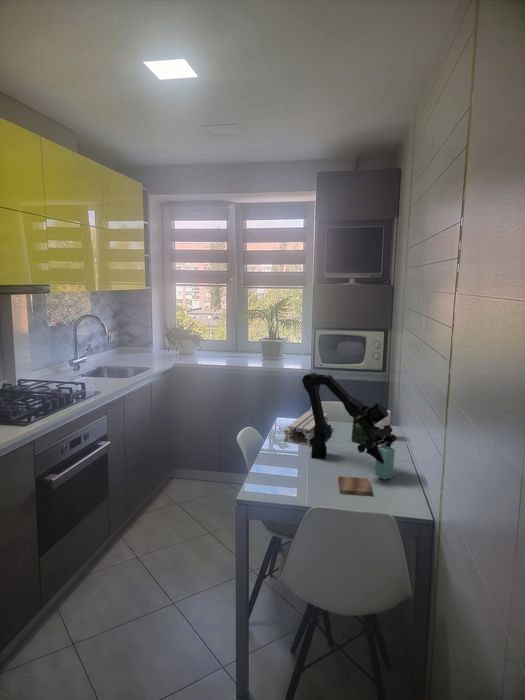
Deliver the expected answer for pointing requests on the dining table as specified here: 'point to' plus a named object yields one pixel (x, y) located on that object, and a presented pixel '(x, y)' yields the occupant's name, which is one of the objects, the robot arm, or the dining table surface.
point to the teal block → (385, 462)
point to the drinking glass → (384, 421)
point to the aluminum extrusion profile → (301, 429)
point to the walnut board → (354, 486)
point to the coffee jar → (357, 432)
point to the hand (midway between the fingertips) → (387, 461)
